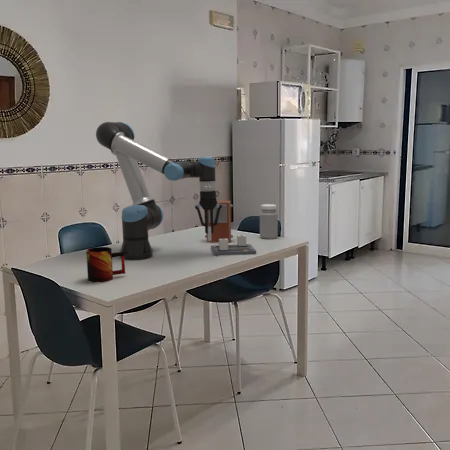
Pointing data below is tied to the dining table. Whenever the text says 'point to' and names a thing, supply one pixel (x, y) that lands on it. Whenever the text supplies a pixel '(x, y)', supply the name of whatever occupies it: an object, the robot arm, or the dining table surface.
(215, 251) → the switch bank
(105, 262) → the mug
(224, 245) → the tab front
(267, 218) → the jar
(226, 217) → the orange rectangular box
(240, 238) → the tab back
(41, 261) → the dining table surface
